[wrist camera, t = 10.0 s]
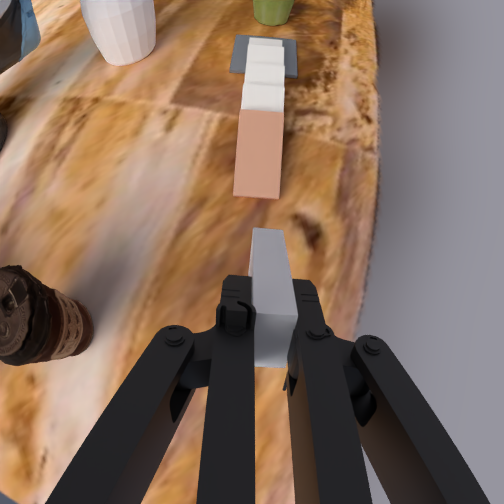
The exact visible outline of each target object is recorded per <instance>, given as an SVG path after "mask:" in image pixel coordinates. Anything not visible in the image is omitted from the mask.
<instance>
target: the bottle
mask: <svg viewBox="0 0 504 504" xmlns="http://www.w3.org/2000/svg"><path fill="white" fill-rule="evenodd" d="M80 3H81V10H82V15H83V18H84V20H85V22H86V25H87V27H88V29H89V32H90V34H91V36H92V39H93V40H94V42H95V44H96V46H97V47H98V49H99V50H100V52H101V54H102V55H103V57H104V59H105V60H106V62H108V63H110V64H112V65H116V66H125V65H130V64H133V63H136V62H138V61H140V60H142V59H144V58H145V57H146V56H148V55H149V54H150V53H151V52H152V50H153V49H154V46H155V44H156V20H155V11H154V2H153V0H80Z"/></svg>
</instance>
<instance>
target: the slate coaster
mask: <svg viewBox="0 0 504 504" xmlns="http://www.w3.org/2000/svg"><path fill="white" fill-rule="evenodd" d="M250 37H251V38H264V39H276V40H282V47H284V66H285V75H284V77H288V78H296V79H297V53H296V40H292V39H283V38H274V37H263V36H250V35H236V38H235V44H234V49H233V54H232V59H231V65H230V73H245V71H246V63H247V51H248V44H249V39H250Z"/></svg>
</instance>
